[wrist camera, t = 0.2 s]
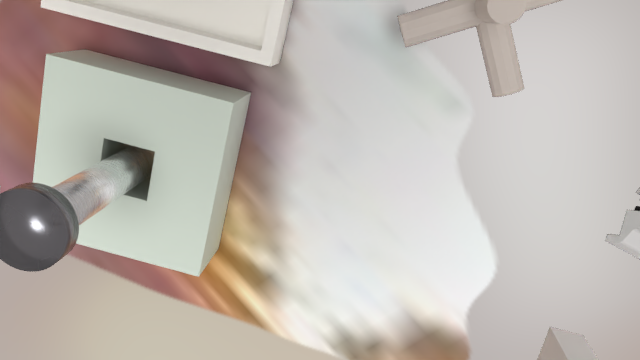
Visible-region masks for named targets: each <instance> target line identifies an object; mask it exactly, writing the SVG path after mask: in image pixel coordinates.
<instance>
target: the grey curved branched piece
mask: <svg viewBox="0 0 640 360" xmlns="http://www.w3.org/2000/svg"><path fill="white" fill-rule="evenodd" d="M636 193H638V194H639V195H640V188H639V189H638V190H637V191H636ZM605 241H607V242H609V243H611V244H612V245H614V246H616V247H618V248H619V249H621V250H623V251H625V252H627V253H629V254H630V255H632V256H634V257H636V258H638V259H639V260H640V207H639V206H636V208H635V210H627V212H626V215H625V218H624V222H623V225H622V229H621V232H620V235H612V234H607V236H606V239H605Z"/></svg>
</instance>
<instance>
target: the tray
mask: <svg viewBox="0 0 640 360" xmlns="http://www.w3.org/2000/svg"><path fill="white" fill-rule="evenodd" d="M293 1H294V0H41V7H42V8H46V9H50V10H54V11H57V12H61V13H65V14H69V15H73V16H77V17H81V18H84V19H88V20H92V21H96V22H100V23H104V24H108V25H111V26H115V27H119V28H123V29H127V30H131V31H135V32H138V33H142V34H146V35H150V36H154V37H158V38H162V39H165V40H169V41H173V42H177V43H181V44H185V45H189V46H192V47H196V48H200V49H204V50H208V51H212V52H216V53H219V54H223V55H227V56H231V57H235V58H239V59H243V60H246V61H250V62H254V63H258V64H262V65H266V66H270V67H271V66H273V65H275V64H278V63H280V60H281V56H282V51H283V47H284V42H285V37H286V33H287V28H288V24H289V19H290V15H291V10H292V6H293Z"/></svg>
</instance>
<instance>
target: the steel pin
mask: <svg viewBox="0 0 640 360" xmlns="http://www.w3.org/2000/svg"><path fill="white" fill-rule="evenodd" d="M154 155H155V151H151V150H147V149H143V148H139V147H136V146H132V145H131V146H129V147H127V148H125V149H123V150H122V151H120V152H118V153H116V154H114V155H112V156H110V157H108V158H106V159H104V160H102V161H101V162H99V163H97V164H95V165H93V166H91V167H89V168H87V169H85V170H83V171H82V172H80V173H78V174H76V175H74V176H72V177H70V178H68V179H66V180H64V181H63V182H61V183H59V184H57V185H55V186H53V187H50V186H48V185H45V184H41V183H24V184H21V185H18V186H16V187H14V188H12V189H9V190H7V191H5V192H3V193H1V194H0V259H1V260H2V261H4V262H5V263H7V264H8V265H10V266H12V267H14V268H16V269H19V270H24V271H41V270H44V269H47V268H49V267H51V266H52V265H54V264H55V263H56V262H58V261H59V260H60V259H61V258H63V257H64V256H65V255H67V254H68V253H69V252H70V251H71V250H72V249H73V247H74V246H75V244H76V242H77V239H78V234H79V225H80V224H82V223H83V222H85V221H86V220H88V219H89V218H90V217H92V216H93V215H95V214H96V213H98V212H99V211H101V210H102V209H103V208H105V207H106V206H108V205H109V204H111V203H112V202H113V201H115V200H116V199H118V198H119V197H121V196H122V195H123V194H125V193H126V192H128V191H129V190H131V189H132V188H133V187H135V186H136V185H138V184H139V183H141V182H142V181H143V180H145V179H146V178H148V177H149V176H151V173H152V167H153V161H154Z"/></svg>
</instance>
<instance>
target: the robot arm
mask: <svg viewBox="0 0 640 360" xmlns="http://www.w3.org/2000/svg"><path fill="white" fill-rule="evenodd" d="M0 186H1V185H0ZM537 360H598V358H597V357H596V355H595V353H594V352H593V350H592V348H591V347H590V345H589V344H588V342H587V340H586V339H585V337H584V336H583V335H581V334H577V333H573V332H569V331H565V330H561V329H557V328H553V327H550V328H549V330H548V333H547V336H546V338H545V341H544V344H543V346H542V349H541V351H540V354H539V356H538V359H537Z"/></svg>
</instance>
